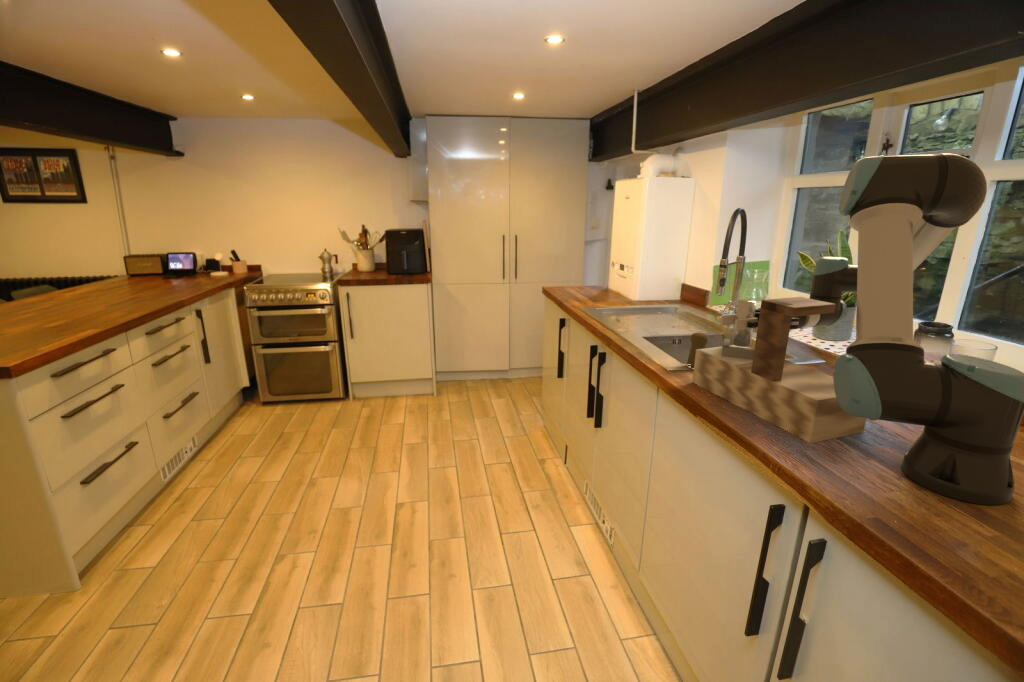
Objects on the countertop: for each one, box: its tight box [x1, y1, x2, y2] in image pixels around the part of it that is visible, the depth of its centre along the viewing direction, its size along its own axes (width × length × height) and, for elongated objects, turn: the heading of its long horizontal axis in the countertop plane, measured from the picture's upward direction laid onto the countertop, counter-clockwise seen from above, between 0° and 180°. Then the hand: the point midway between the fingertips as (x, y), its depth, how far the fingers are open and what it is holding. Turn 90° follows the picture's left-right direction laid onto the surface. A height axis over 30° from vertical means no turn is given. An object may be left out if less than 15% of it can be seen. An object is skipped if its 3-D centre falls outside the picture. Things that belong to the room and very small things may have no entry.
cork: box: [686, 332, 709, 368], centre depth 147 cm, size 6×6×11 cm
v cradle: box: [698, 338, 755, 366], centre depth 127 cm, size 14×14×3 cm
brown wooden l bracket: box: [751, 296, 836, 382], centre depth 110 cm, size 9×12×18 cm
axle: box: [732, 298, 757, 347], centre depth 126 cm, size 4×4×12 cm
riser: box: [692, 346, 867, 444], centre depth 120 cm, size 38×16×10 cm, turn 18°
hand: (728, 322), depth 124 cm, fingers closed on axle, 4 cm apart
